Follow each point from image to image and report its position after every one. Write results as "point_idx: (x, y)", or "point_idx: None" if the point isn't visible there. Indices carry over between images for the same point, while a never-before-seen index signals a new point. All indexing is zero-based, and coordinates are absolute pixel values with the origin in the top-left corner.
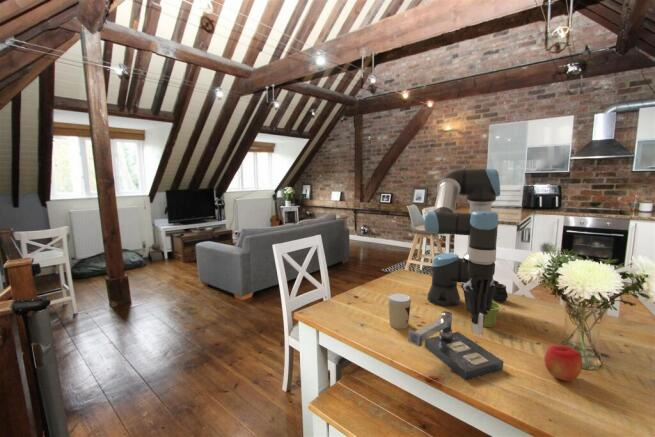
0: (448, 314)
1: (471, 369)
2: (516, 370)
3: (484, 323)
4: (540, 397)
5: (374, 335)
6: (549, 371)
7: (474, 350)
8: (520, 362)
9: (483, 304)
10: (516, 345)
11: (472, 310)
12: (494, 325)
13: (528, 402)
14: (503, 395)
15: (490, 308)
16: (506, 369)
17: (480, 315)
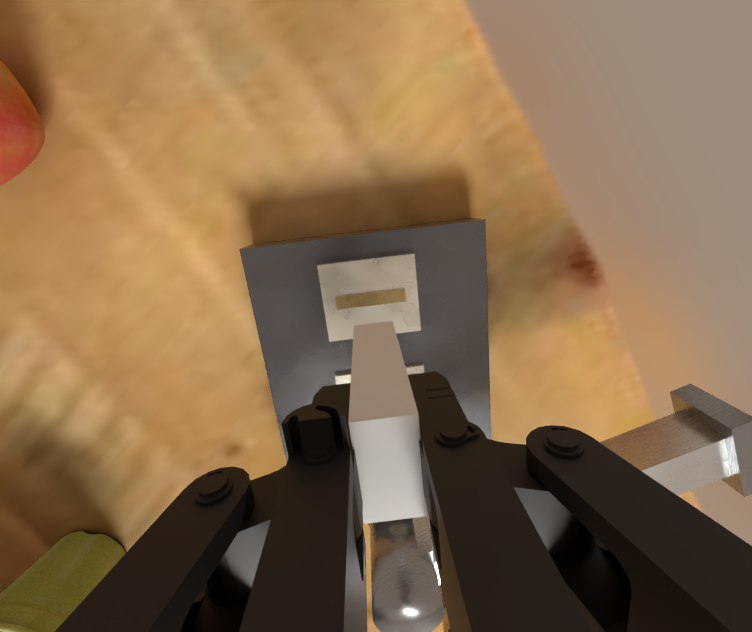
0: (404, 601)
1: (448, 229)
2: (191, 225)
3: (106, 555)
4: (218, 20)
5: None
6: (40, 122)
7: (324, 362)
8: (128, 272)
9: (347, 584)
10: (56, 389)
11: (623, 470)
12: (60, 539)
13: (301, 6)
14: (379, 84)
15: (178, 499)
16: (233, 243)
17: (406, 412)
